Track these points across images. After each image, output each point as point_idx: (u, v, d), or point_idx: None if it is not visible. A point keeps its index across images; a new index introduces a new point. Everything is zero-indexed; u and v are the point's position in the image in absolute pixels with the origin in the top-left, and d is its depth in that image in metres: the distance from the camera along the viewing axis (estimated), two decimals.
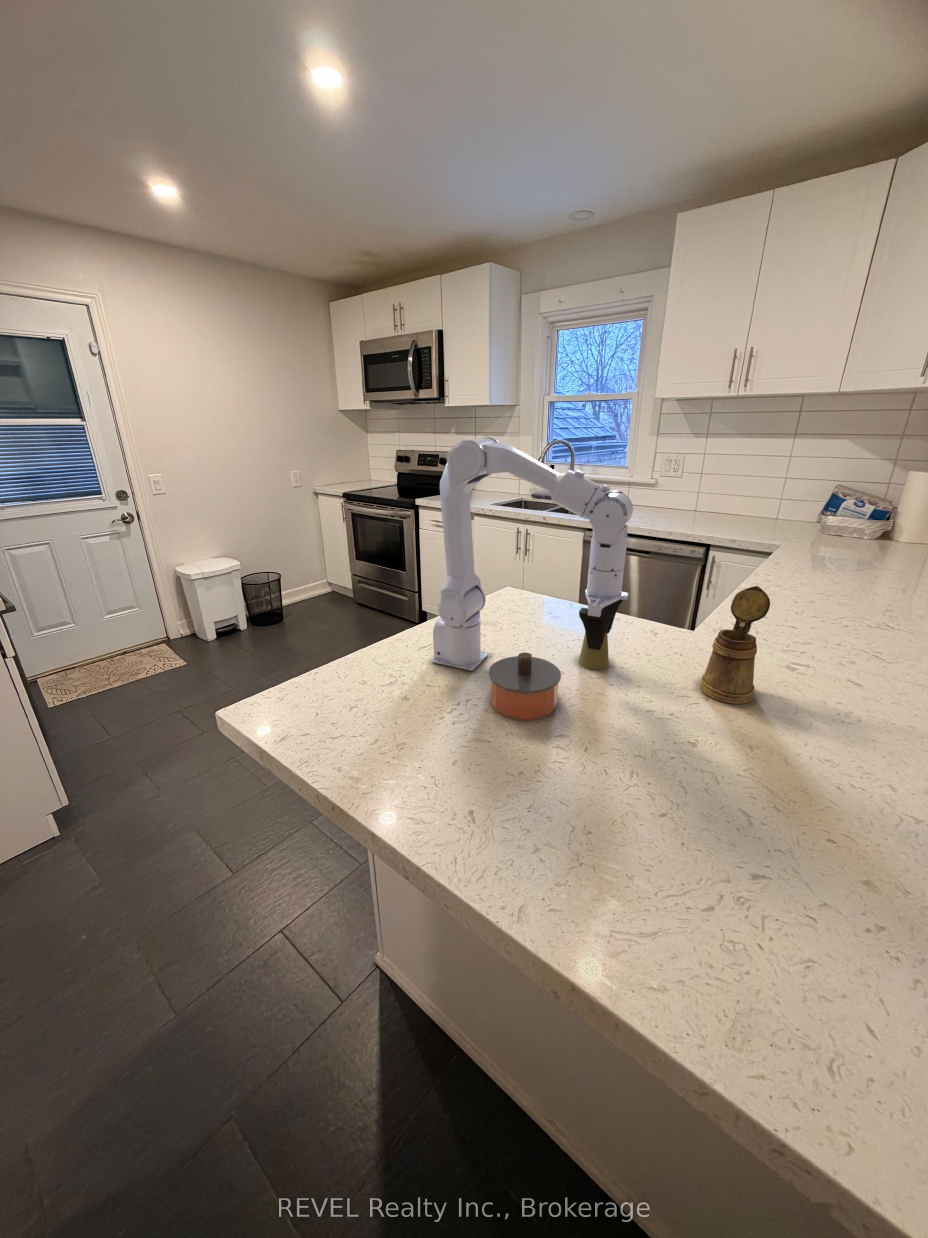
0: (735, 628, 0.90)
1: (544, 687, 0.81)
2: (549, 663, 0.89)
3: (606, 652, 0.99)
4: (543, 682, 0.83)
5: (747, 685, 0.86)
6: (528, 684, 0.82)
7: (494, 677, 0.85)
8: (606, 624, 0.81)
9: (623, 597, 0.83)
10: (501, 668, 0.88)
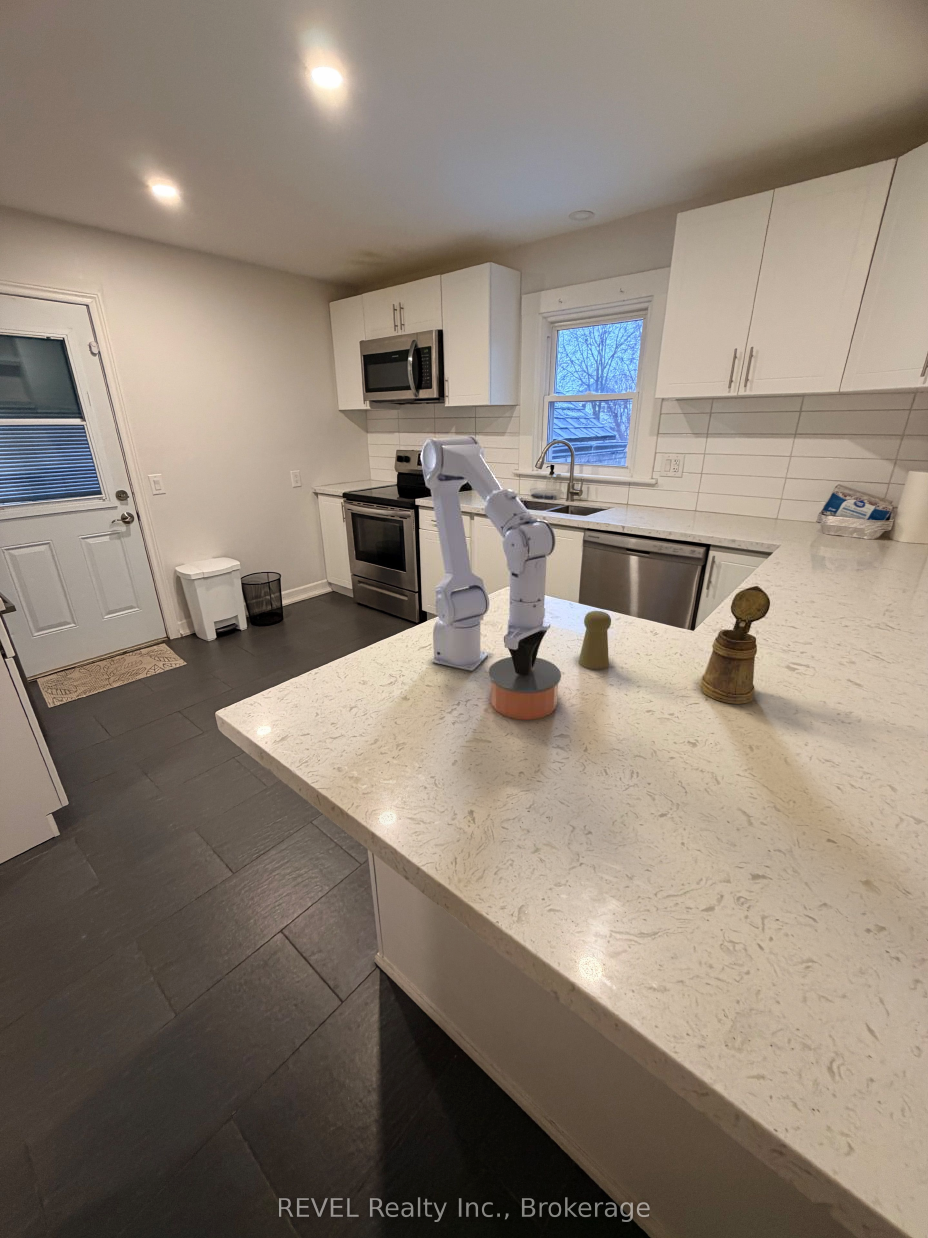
0: (735, 628, 0.90)
1: (544, 687, 0.81)
2: (549, 663, 0.89)
3: (606, 652, 0.99)
4: (543, 682, 0.83)
5: (747, 685, 0.86)
6: (528, 684, 0.83)
7: (494, 677, 0.85)
8: (529, 650, 0.81)
9: (544, 628, 0.80)
10: (501, 667, 0.88)
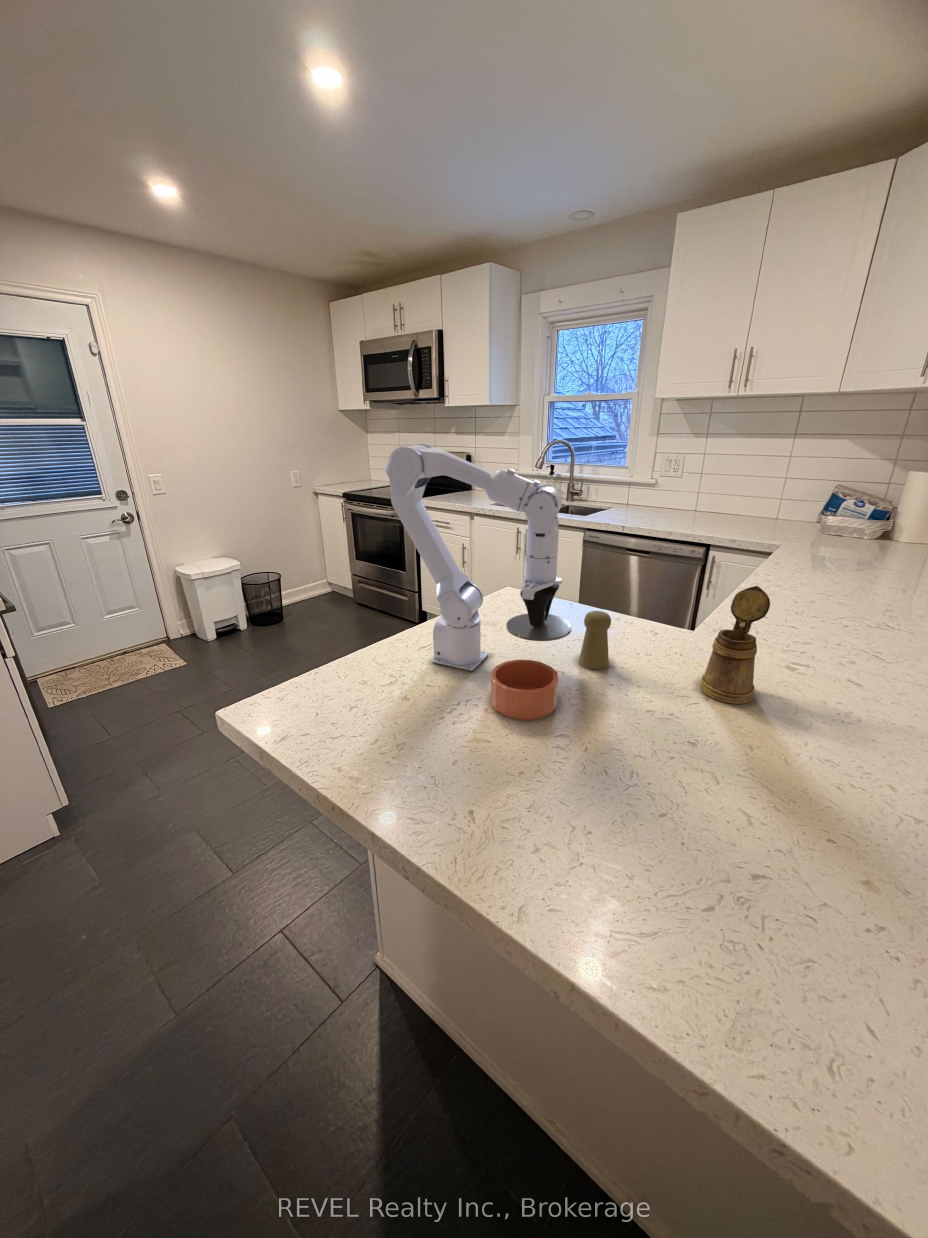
0: (735, 628, 0.90)
1: (556, 636, 0.91)
2: (561, 618, 0.99)
3: (606, 652, 0.99)
4: (555, 632, 0.93)
5: (747, 685, 0.86)
6: (542, 634, 0.92)
7: (511, 629, 0.95)
8: (543, 602, 0.90)
9: (556, 582, 0.90)
10: (517, 622, 0.98)
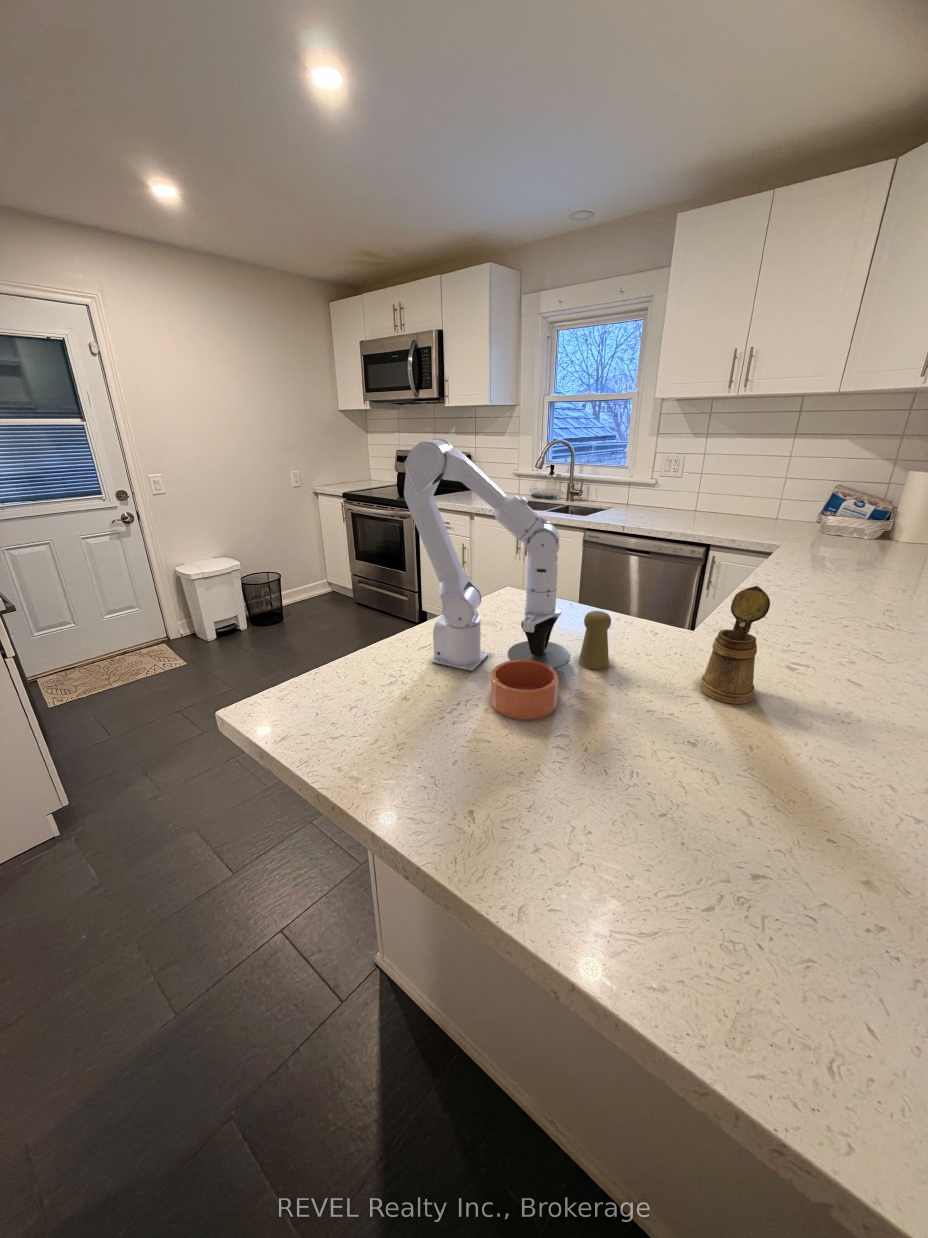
0: (735, 628, 0.90)
1: (556, 666, 0.95)
2: (560, 646, 1.03)
3: (606, 652, 0.99)
4: (555, 661, 0.97)
5: (747, 685, 0.86)
6: None
7: (513, 657, 0.98)
8: (543, 634, 0.94)
9: (556, 614, 0.94)
10: (518, 650, 1.02)
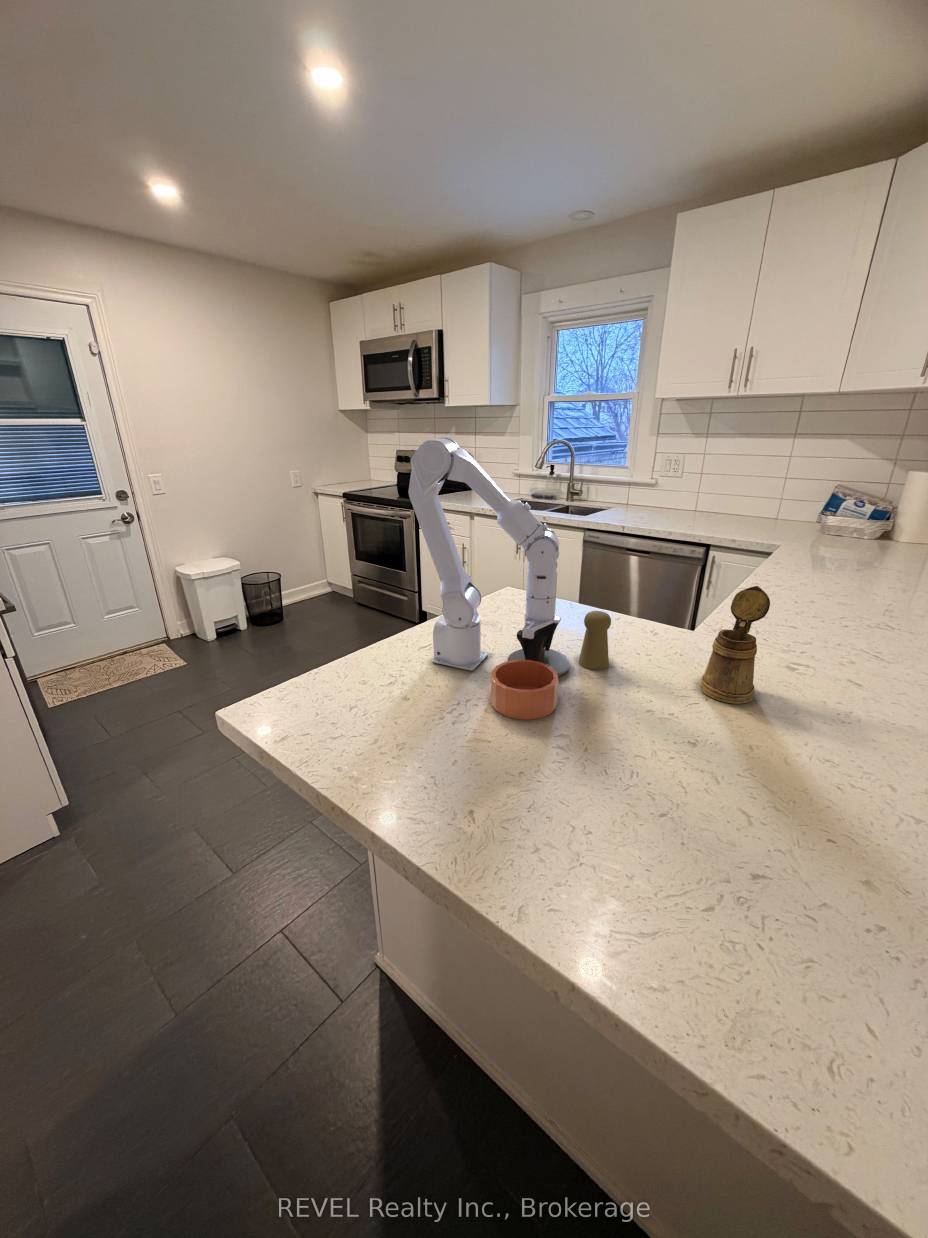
0: (735, 628, 0.90)
1: None
2: (559, 653, 1.03)
3: (606, 652, 0.99)
4: (554, 669, 0.97)
5: (747, 685, 0.86)
6: None
7: None
8: (539, 645, 0.93)
9: (555, 621, 0.95)
10: (518, 657, 1.02)
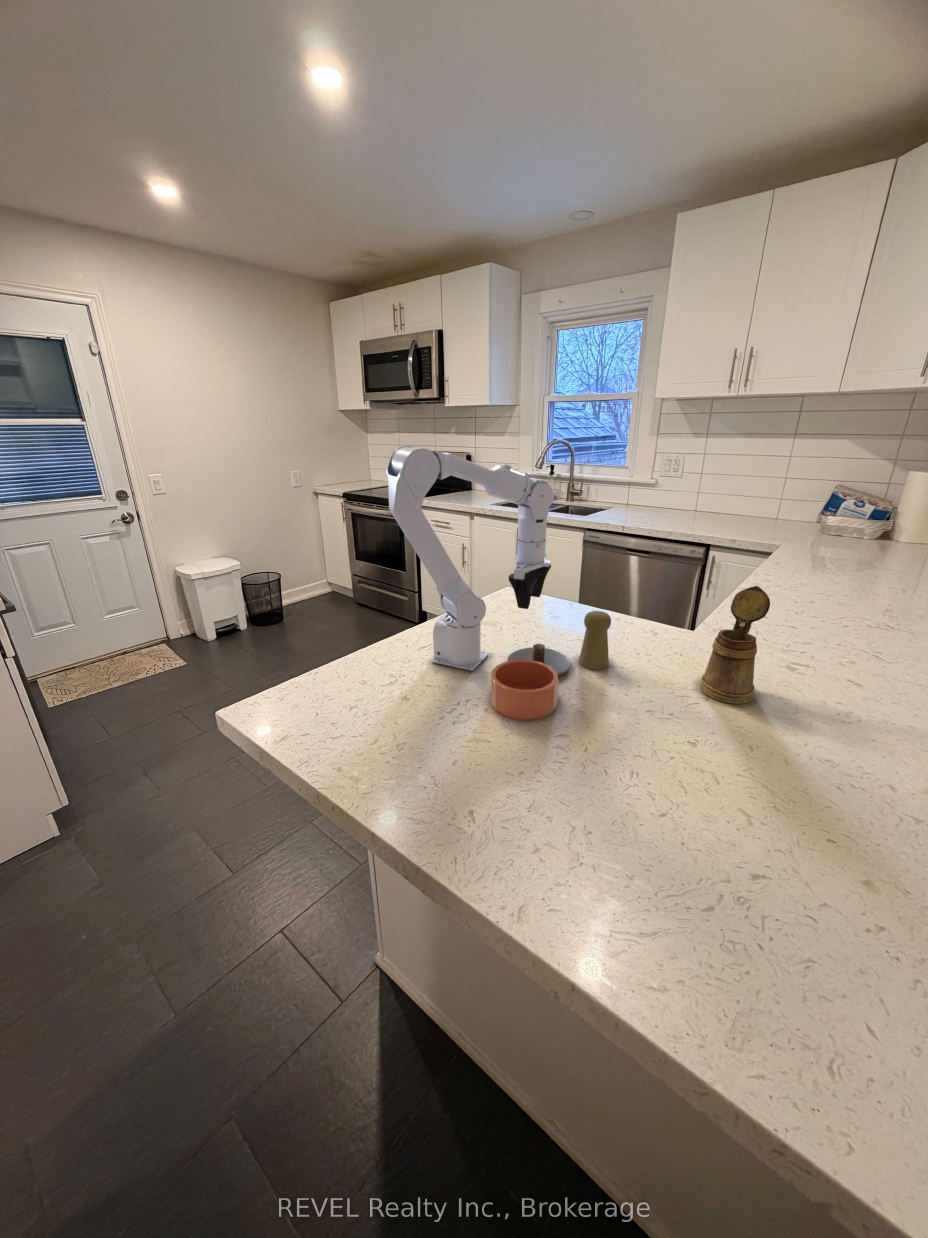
0: (735, 628, 0.90)
1: None
2: (559, 653, 1.03)
3: (606, 652, 0.99)
4: (554, 669, 0.97)
5: (747, 685, 0.86)
6: None
7: None
8: (529, 586, 0.98)
9: (545, 564, 1.00)
10: (518, 657, 1.02)
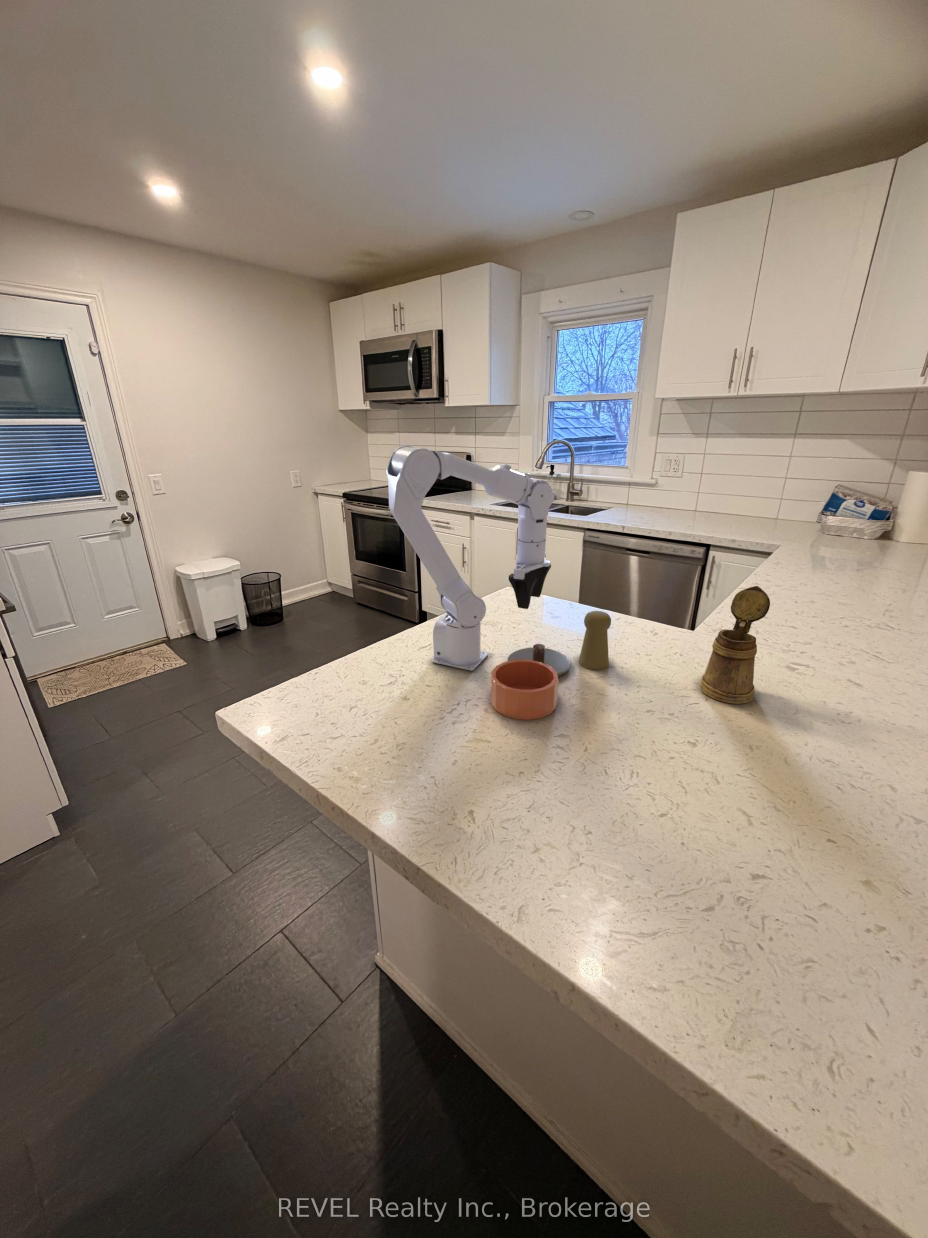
0: (735, 628, 0.90)
1: None
2: (559, 653, 1.03)
3: (606, 652, 0.99)
4: (554, 669, 0.97)
5: (747, 685, 0.86)
6: None
7: None
8: (529, 586, 0.98)
9: (545, 564, 1.00)
10: (518, 657, 1.02)
